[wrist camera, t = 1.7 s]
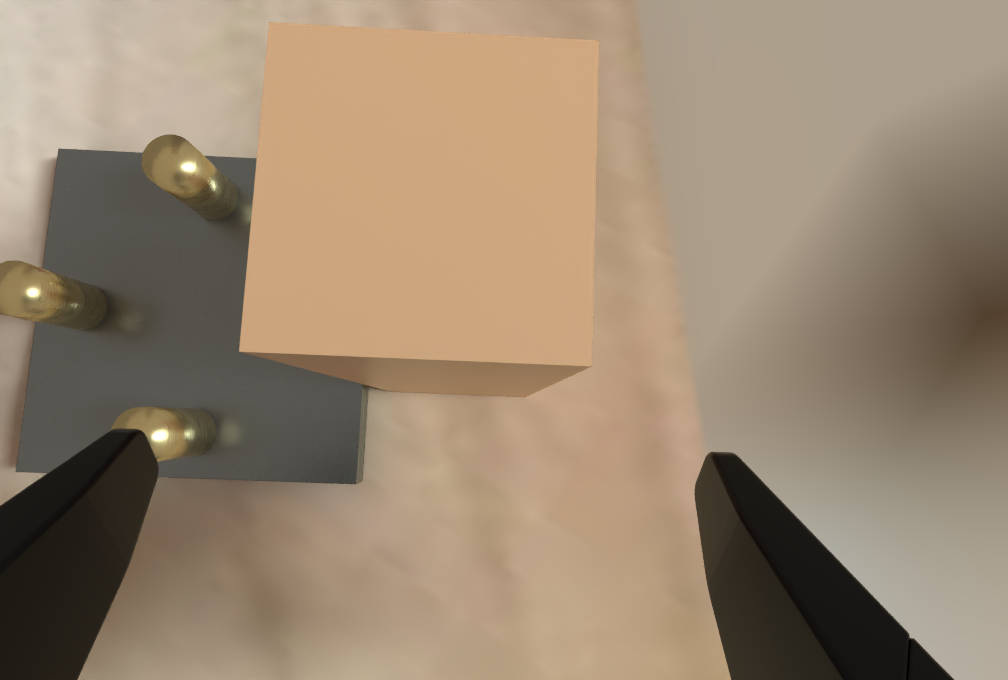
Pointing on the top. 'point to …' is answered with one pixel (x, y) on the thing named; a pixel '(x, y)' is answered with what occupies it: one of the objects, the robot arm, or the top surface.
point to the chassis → (166, 328)
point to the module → (424, 209)
